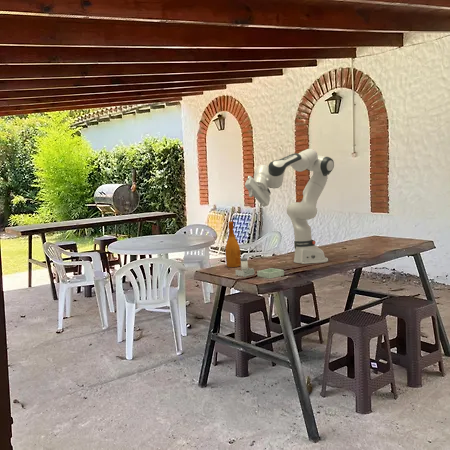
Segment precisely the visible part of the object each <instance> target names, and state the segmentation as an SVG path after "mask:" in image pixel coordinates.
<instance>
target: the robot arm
mask: <svg viewBox="0 0 450 450" xmlns="http://www.w3.org/2000/svg"><path fill="white" fill-rule="evenodd" d="M334 161H335V160H334V159H333V158H331V157H329V156H324V155H319V154H318V152H317V151H316V150H315V148H307V149H304V150H301V151H299V153H296V152H295V153H291V154H288V155H287V156H284V157H282V158H280V159H275V160H272V161H270V162H269V164H268V165H267V164H259V165H258V166H257V167H256V168H255V171H254V174H253V176H252V175H248V176H247V179H246V181H245V183H244V187H245V189H247V191H248V197H249V198H250V199H251V198H252V197H254V199H255V200H256V201H258V205H257V207H258V208H262V207H265V208H266V207H267V206H269V204H270V201H271V200H270V199H271V194H272V192H271V190H270V189H279V188H280V187H282V185H283V182H284V176H285V175H284V174H285V171H286V169H287V168H288V167H292V169H293V170H294V171H296V172H299V173H300V172H303V171H306V170H307V171H309V172H312V175H311V177H310V178H309V180H308V182H307V183H306V185H305V187H304V189H303V191H302V195H303V197H302V199H301V201H300V202H297V201H296V202H293V203H289V204H288V205H287V207H286V214H287V216H288V217H289V219H290V221H291V223H292V227H293V232H294V233H293V234H294V240H293V241H294V242H293V246H294V247H293V248H294V258H293V263H295V264H302V265H304V264H306V265H308V264H319V263H327V262H329V258H328V257H326V256H325V253H324V252H325V251H324V250H322V249H321V248H320V247H318V246H317V245H316V241H315V240H314V239H312V228H311V226H310V225H309V223H308V220H312V219H314V218H315V217H316V216H317V214H318V208H317V204H318V200H319V197H320V196H321V194H322V192H323V190H324V188H325V187H326V184H327V182H328V178H329V177H328V176H329V175H330V174H331V172H333V169H334V167H335V162H334Z"/></svg>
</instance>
